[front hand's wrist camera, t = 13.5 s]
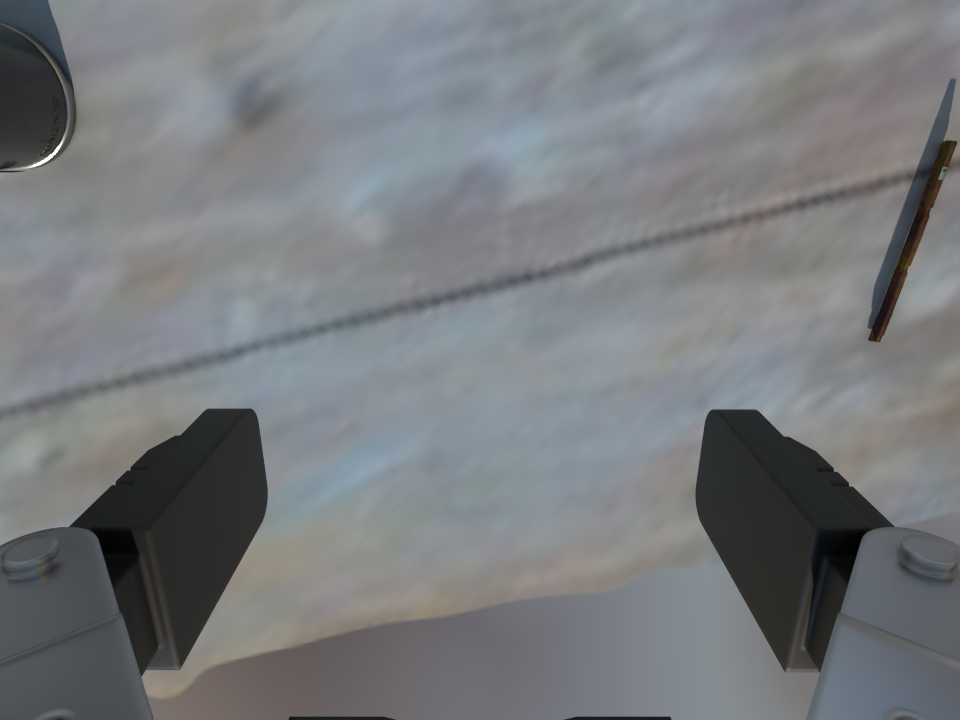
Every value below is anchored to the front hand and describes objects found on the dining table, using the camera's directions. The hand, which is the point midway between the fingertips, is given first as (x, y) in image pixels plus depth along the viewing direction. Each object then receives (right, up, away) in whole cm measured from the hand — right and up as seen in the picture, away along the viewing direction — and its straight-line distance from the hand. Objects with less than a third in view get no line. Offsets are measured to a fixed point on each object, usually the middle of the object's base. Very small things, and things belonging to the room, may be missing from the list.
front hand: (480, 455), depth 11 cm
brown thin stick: (+32, +10, +36) cm, 49 cm away
